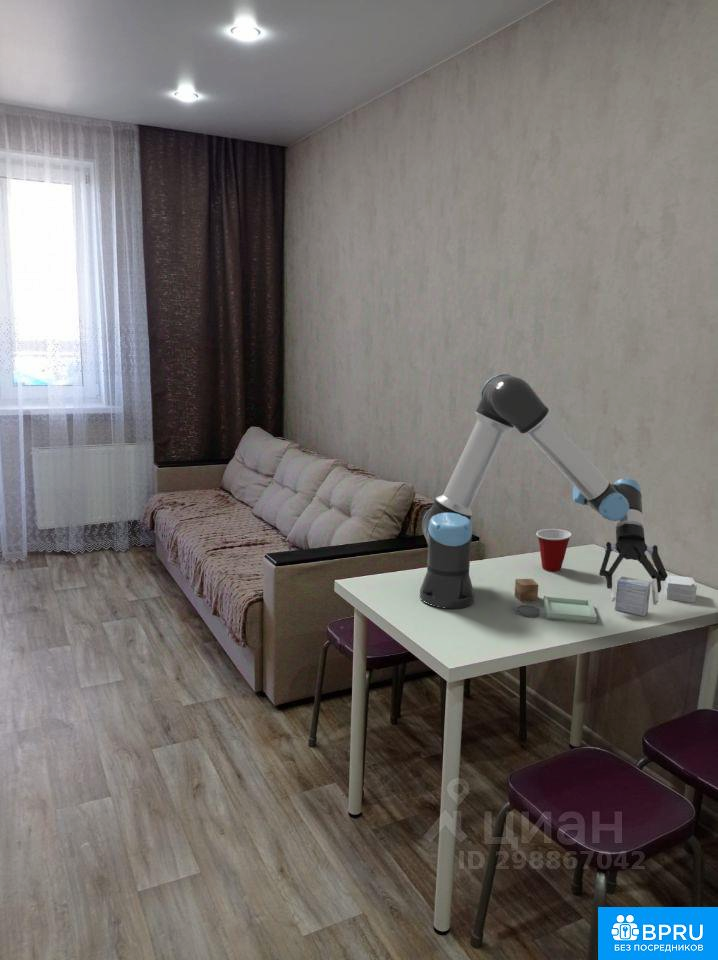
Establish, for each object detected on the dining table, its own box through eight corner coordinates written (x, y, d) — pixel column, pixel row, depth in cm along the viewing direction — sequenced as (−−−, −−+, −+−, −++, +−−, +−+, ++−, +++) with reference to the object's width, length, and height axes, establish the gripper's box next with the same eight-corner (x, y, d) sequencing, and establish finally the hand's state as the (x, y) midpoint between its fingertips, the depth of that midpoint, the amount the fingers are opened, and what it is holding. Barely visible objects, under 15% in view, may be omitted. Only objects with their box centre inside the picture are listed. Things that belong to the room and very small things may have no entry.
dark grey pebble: (516, 617, 193) (517, 611, 192) (515, 608, 199) (516, 603, 198) (540, 619, 192) (540, 613, 192) (538, 610, 198) (538, 605, 197)
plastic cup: (527, 563, 236) (530, 528, 234) (558, 562, 238) (562, 527, 236) (542, 575, 226) (545, 537, 223) (574, 573, 228) (577, 537, 225)
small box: (662, 590, 215) (664, 574, 214) (691, 593, 213) (693, 577, 212) (665, 599, 208) (667, 582, 207) (695, 603, 206) (697, 586, 205)
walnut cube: (519, 601, 203) (521, 584, 202) (514, 595, 208) (515, 578, 207) (537, 601, 204) (538, 584, 203) (531, 595, 208) (532, 578, 207)
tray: (546, 619, 191) (547, 612, 191) (543, 601, 203) (543, 595, 203) (596, 623, 189) (597, 616, 189) (589, 605, 201) (590, 599, 201)
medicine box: (648, 611, 198) (651, 581, 196) (644, 617, 194) (647, 586, 193) (618, 605, 202) (621, 575, 200) (614, 610, 199) (617, 580, 197)
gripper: (668, 538, 208) (675, 610, 196) (586, 532, 211) (588, 603, 200) (675, 525, 202) (683, 598, 190) (590, 519, 205) (593, 591, 193)
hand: (634, 601), depth 195 cm, fingers open, 10 cm apart
